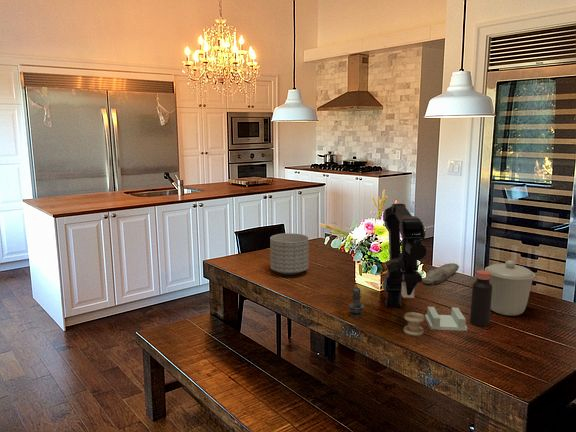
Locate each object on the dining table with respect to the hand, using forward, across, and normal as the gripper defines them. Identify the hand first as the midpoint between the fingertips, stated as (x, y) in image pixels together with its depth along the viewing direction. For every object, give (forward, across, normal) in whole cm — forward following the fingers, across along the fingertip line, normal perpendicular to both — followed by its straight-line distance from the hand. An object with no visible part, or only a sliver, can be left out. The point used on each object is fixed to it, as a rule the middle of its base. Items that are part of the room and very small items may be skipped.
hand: (407, 293), depth 176 cm
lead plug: (+1, 0, 0) cm, 1 cm away
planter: (+12, -58, -48) cm, 77 cm away
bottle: (+12, -3, +28) cm, 31 cm away
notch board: (+12, -1, +15) cm, 19 cm away
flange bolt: (+12, -8, -18) cm, 23 cm away
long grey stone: (+12, -59, +26) cm, 66 cm away
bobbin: (+12, +6, +2) cm, 14 cm away
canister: (+12, -16, +42) cm, 46 cm away
